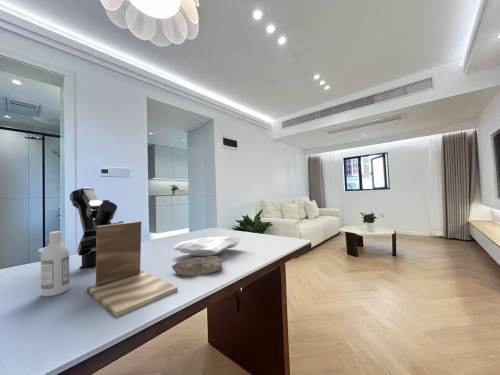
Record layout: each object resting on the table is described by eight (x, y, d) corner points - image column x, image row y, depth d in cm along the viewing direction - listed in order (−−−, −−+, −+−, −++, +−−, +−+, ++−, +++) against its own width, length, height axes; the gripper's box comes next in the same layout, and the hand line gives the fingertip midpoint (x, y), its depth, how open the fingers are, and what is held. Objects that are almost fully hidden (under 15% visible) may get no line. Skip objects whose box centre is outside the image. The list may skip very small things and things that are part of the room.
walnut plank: (95, 284, 72) (96, 226, 71) (138, 271, 83) (139, 220, 82) (97, 286, 71) (98, 226, 70) (140, 273, 82) (141, 221, 81)
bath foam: (67, 285, 75) (66, 229, 76) (71, 291, 71) (70, 231, 71) (39, 293, 70) (39, 232, 70) (42, 299, 66) (42, 234, 66)
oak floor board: (87, 290, 71) (87, 287, 71) (141, 273, 85) (141, 270, 85) (116, 317, 55) (116, 312, 55) (177, 290, 70) (177, 286, 70)
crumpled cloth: (249, 253, 104) (248, 235, 105) (173, 263, 92) (173, 241, 93) (235, 249, 125) (234, 233, 127) (173, 256, 113) (172, 239, 115)
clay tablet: (171, 281, 78) (225, 272, 84) (171, 267, 78) (224, 260, 84) (172, 269, 91) (218, 262, 98) (172, 257, 91) (218, 251, 98)
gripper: (79, 218, 75) (89, 254, 68) (134, 213, 90) (147, 242, 83) (73, 237, 80) (82, 273, 73) (126, 230, 94) (138, 259, 87)
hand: (115, 261), depth 79 cm, fingers closed
